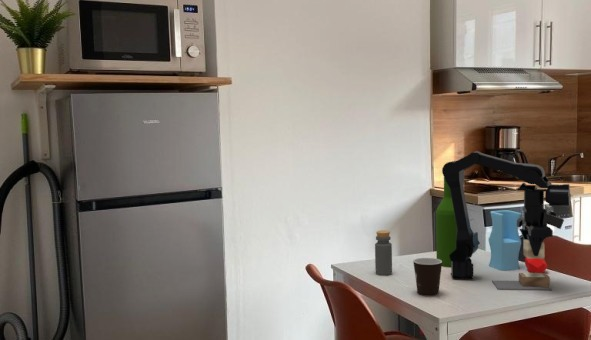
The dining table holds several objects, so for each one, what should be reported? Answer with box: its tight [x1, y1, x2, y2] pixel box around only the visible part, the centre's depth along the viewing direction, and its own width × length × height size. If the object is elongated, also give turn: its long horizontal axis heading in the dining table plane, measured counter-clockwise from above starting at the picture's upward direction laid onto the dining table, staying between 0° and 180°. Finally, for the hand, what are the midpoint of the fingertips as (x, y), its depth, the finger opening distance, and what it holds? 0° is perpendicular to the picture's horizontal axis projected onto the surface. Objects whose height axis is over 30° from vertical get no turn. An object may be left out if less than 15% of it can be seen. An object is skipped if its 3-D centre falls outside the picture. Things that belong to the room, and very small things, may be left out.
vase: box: [488, 209, 522, 272], centre depth 198 cm, size 8×8×20 cm
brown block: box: [518, 272, 551, 288], centre depth 175 cm, size 8×5×3 cm, turn 81°
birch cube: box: [522, 239, 546, 260], centre depth 174 cm, size 5×5×5 cm
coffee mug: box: [412, 257, 443, 297], centre depth 172 cm, size 12×9×10 cm
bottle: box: [374, 230, 393, 277], centre depth 195 cm, size 6×6×15 cm
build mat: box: [491, 279, 553, 291], centre depth 175 cm, size 16×9×1 cm, turn 81°
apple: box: [524, 257, 548, 273], centre depth 191 cm, size 7×7×8 cm
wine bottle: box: [435, 177, 457, 268], centre depth 204 cm, size 9×9×32 cm
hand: (533, 253), depth 175 cm, fingers closed on birch cube, 5 cm apart
